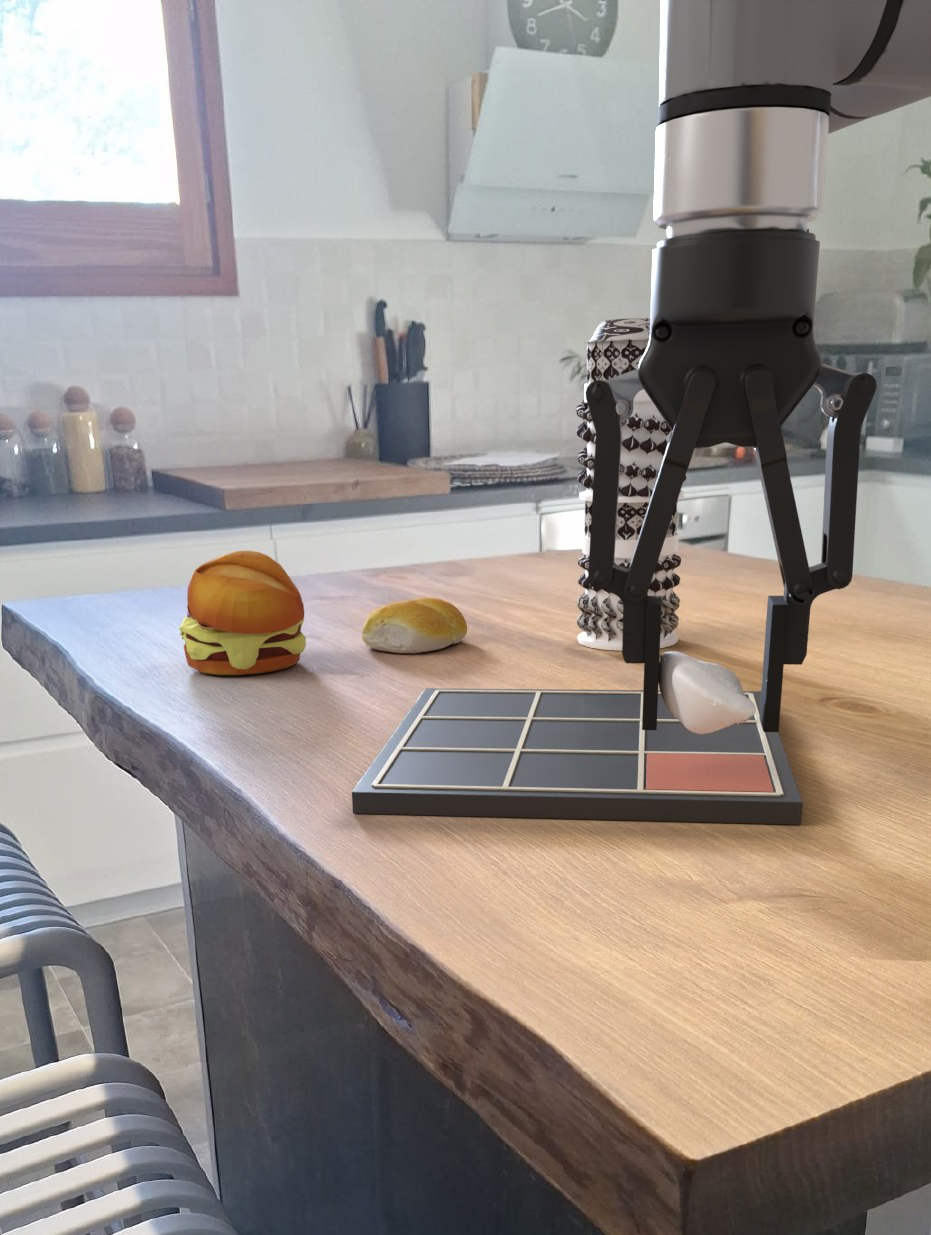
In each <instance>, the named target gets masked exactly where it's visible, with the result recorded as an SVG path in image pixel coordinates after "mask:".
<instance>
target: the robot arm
mask: <svg viewBox="0 0 931 1235" xmlns="http://www.w3.org/2000/svg"><path fill="white" fill-rule="evenodd" d="M659 11H660V13H659V15H660V16H659V19H660V21H659V72H658V74H659V77H658V78H659V80H658V82H659V83H658V86H659V87H658V108H657V109H658V111H657V127H656V128H655V154H654V157H655V158H654V184H653V185H654V186H653V191H654V192H653V213H652V214H653V215H652V216H653V218H652V221H653V223H654V224H655V225H656V226H657V227H658V228H659V229H662V230H665V231H666V232H665V238H664V239H661V240H658V242H657V244H656V247H655V248H653V249H652V252H651V279H650V280H651V284H650V310H649V311H650V312H649V315H650V316H649V318H650V338H649V343H648V346H647V348H646V351H645V353H644V354H643V356H642V358H641V360H640V362H639V366H638V369H635V370H633V371H630V372H627V373H624V374H622V375H619V376H616V377H613V378H611V379H608V380H596V381H593V382H592V383H590V384H589V386H588V387H587V389H586V400H587V403H588V407H589V410H590V414H591V417H592V420H593V424H594V427H595V431H596V444H595V462H594V480H593V498H592V516H591V535H590V553H589V571H588V580H589V583H590V585H591V586H592V587H594V588H595V589H599V590H600V589H602V590H605V591H608V592H610V593H613V594H615V595H617V596H618V597H619V598H620V599H621V601H622V603H623V638H622V651H621V655H622V657H623V660H624V662H625V664H644V666H643V687H642V688H643V689H642V690H643V715H642V730H657V707H658V690H659V683H658V682H659V663H660V658H661V656H660V655H661V654H660V653H661V648H660V632H661V607H662V601H661V596H648V591H649V587H650V584H651V581H652V578H653V575H654V572H655V569H656V566H657V562H658V559H659V556H660V553H661V550H662V547H663V544H664V541H665V537H666V534H667V531H668V528H669V525H670V522H671V519H672V516H673V513H674V509H675V506H676V503H677V500H678V501H679V499H678V497H679V494H680V491H681V490H682V489H683V488H682V487H683V484H684V482H685V481H684V478H685V475H686V476H687V472H688V469H689V467H690V464H691V460H692V458H693V455H694V452H695V449H696V448H700V449H701V448H711V447H714V446H718V445H721V444H730V445H733V446H737V447H741V448H747V447H748V448H749V447H750V448H751V447H752V449H753V452H754V453H753V454H754V458H755V461H756V465H757V469H758V473H759V478H760V483H761V488H762V492H763V496H764V497H763V498H764V502H765V506H766V510H767V515H768V519H769V524H770V529H771V530H770V531H771V534H772V538H773V543H774V547H775V553H776V558H777V562H778V566H779V570H780V575H781V580H782V585H783V595H767V606H766V621H765V631H764V632H765V633H764V645H763V646H764V648H763V649H764V650H763V662H762V664H763V665H762V675H761V676H762V677H761V690H760V691H761V703H760V717H759V719H760V722H761V725H762V729H763V732H779V731H780V717H781V706H782V693H783V682H784V681H783V679H784V667H785V666H784V665H789V666H790V665H791V666H792V665H795V666H797V665H801V666H802V665H803V663H804V661H805V659H806V657H807V654H808V643H809V642H808V641H809V630H810V618H811V608H812V604H813V602H814V601H815V599H816V598H817V597H819V596H821V595H822V594H826V593H828V592H832V591H835V590H842V589H845V588H847V587H848V586H849V585H850V583H851V582H852V579H853V572H854V571H853V570H854V556H855V536H856V519H857V500H858V484H859V469H860V468H859V467H860V466H859V465H860V451H861V450H860V447H861V431H862V425H863V423H864V420H865V418H866V416H867V413H868V411H869V408H870V406H871V404H872V402H873V399H874V396H875V394H876V392H877V386H878V385H877V379H876V378H875V377H874V375H872V374H870V373H866V372H851V371H848V370H844V369H841V368H838V367H835V366H832V365H829V364H825V363H823V358H822V354H821V352H820V350H819V348H818V346H817V344H816V340H815V334H814V332H815V331H814V324H815V311H816V309H815V308H816V299H817V298H816V297H817V286H818V272H819V262H820V261H819V260H820V247H821V241H819V240H818V239H816V238H817V235H816V234H815V233H813V232H810V228H808V225H809V223H812V222H813V221H815V220H816V219H818V218H819V216H821V215H822V214H823V211H824V198H825V182H826V169H827V157H828V156H827V154H828V142H829V134H832V133H835V132H838V131H840V130H842V129H845V128H847V127H850V126H853V125H855V124H858V123H860V122H863V121H865V120H868V119H871V118H874V117H877V116H881V115H884V114H888V113H889V112H892V111H895V110H898V109H900V108H903V107H905V106H908V105H912V104H914V103H917V102H919V101H922V100H924V99H928V98H930V97H931V0H660V10H659ZM813 387H816V388H817V389H818V391H819V394H820V403H819V408H820V410H821V412H822V413H823V414H824V415H826V416H828V417H829V422H828V425H827V434H826V435H827V436H826V450H825V472H824V490H823V491H824V493H823V512H822V533H821V534H822V535H821V554H820V556H821V557H820V563H817V564H815V565H813V566H810V565H809V560H808V556H807V551H806V546H805V541H804V536H803V531H802V527H801V523H800V522H801V521H800V518H799V517H800V516H799V513H798V512H799V511H798V508H797V503H796V502H797V501H796V499H795V494H794V488H793V483H792V479H791V474H790V470H789V469H790V468H789V465H788V456H787V450H786V445H785V440H784V435H783V431H782V427H783V425H784V424H785V423H786V422H787V421H788V419H789V418H790V416H791V415H792V414H793V412H794V411H795V410H796V409H797V407H798V406H799V405H800V404H801V402H802V401H803V399H804V398H805V397H806V396H807V394H808V393H809V392H810V390H811V389H812V388H813ZM643 389H644V390H645V392H646V393H647V395H648V396H649V398H650V399H651V401H652V402H653V404H654V405H655V407H656V408H657V410H658V411H659V413H660V414H661V416H662V417H663V419H664V420H665V422H666V423H667V425H668V426H669V428H670V429H671V434H670V438H669V441H668V444H667V447H666V450H665V454H664V457H663V461H662V464H661V467H660V470H659V474H658V477H657V480H656V483H655V487H654V490H653V493H652V496H651V499H650V503H649V506H648V509H647V512H646V515H645V519H644V522H643V525H642V528H641V531H640V535H639V538H638V541H637V544H636V547H635V551H634V554H633V557H632V560H631V563H630V567H629V569H627V568H624V567H622V566H619V565H616V564H614V556H615V540H616V524H617V509H618V493H619V477H620V461H621V445H622V429H621V422H623V421H625V420H627V419H628V418H629V417H630V416H631V414H632V412H633V401H634V397H635V396H636V394H637V393H638V392H639V391H641V390H643ZM683 481H684V482H683ZM677 504H678V503H677ZM766 680H767V681H766ZM779 733H780V732H779Z"/></svg>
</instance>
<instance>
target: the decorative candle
mask: <svg viewBox="0 0 931 1235" xmlns="http://www.w3.org/2000/svg"><path fill="white" fill-rule="evenodd" d="M649 338H650V317H634V318H633V317H631V318H615V319H614V318H613V319H606V320H604V321H602V322H601V323H599V324H598V326H597V327H596V329H595V331H594V333H593V335H592V337H591V338H590V339H589V340H587V341H585V342H584V344H586V383H584V384H583V385H584V386H583V391H584V392H583V399H582V401H581V402H580V403H578V404H577V405H576V407H575V414H576V416H577V417H578V418H581V419H582V420H583V422H582V423H580V424H578V425H577V427H576V430H575V434H576V436H577V437H579V438H581V440H582V441H583V442H584V441H585V442H586V446H584V447H583V449H581V450H579V452H578V453H577V462H578V463H579V464H580V465H582V466H583V467H584V468H583V469H582V470H580V471H579V472H578V476H577V479H576V480H577V482H578V483H579V484H581V486H583V487H584V488H586V489H585V490H583V491H581V492H580V491H579V496H578V497H579V499H580V500H581V501H584V529H583V530H584V533H583V534H582V535H581V552H582V553H583V555H581V556H580V557H579V558H578V560H577V565H578V566H579V567H580V568H582V569H583V570H584V571H585V572H584V573H582V574H581V575H580V576H579V578H578V579H577V584H578V585H579V586H580V587H582V588H583V589H584V591H583V593H582V594H581V595H579V597H578V598H577V600H576V606H577V608H578V610H579V611H581V613H580V614H579V615H578V617H577V619H576V625H577V626H578V628H579V629H580V630H581V631H582V632H580V633H578V635H577V642H578V643H579V645H582V646H584V647H587V648H591V649H598V650H604V651H619V652H622V638H623V603H622V601H621V599H620V598H619V597H618V596H617V595H615V594H613V593H610V592H608V591H605V590H602V589H600V590H599V589H595V588H594V587H592V586H591V585H590V583H589V580H588V571H589V553H590V535H591V516H592V498H593V480H594V462H595V444H596V431H595V427H594V424H593V420H592V417H591V414H590V410H589V407H588V403H587V400H586V389H587V387H588V386H589V384H590V383H592V382H593V381H596V380H608V379H611V378H613V377H616V376H619V375H622V374H624V373H627V372H630V371H633V370H635V369H638V366H639V362H640V360H641V358H642V356H643V354H644V353H645V351H646V348H647V346H648V343H649ZM621 429H622V445H621V461H620V477H619V493H618V509H617V524H616V540H615V556H614V564H616V565H619V566H622V567H624V568H627V569H629V567H630V563H631V560H632V557H633V554H634V551H635V547H636V544H637V541H638V538H639V535H640V531H641V528H642V525H643V522H644V519H645V515H646V512H647V509H648V506H649V503H650V499H651V496H652V493H653V490H654V487H655V483H656V480H657V477H658V474H659V470H660V467H661V464H662V461H663V457H664V454H665V450H666V447H667V444H668V441H669V438H670V434H671V429H670V428H669V426H668V425H667V423H666V422H665V420H664V419H663V417H662V416H661V414H660V413H659V411H658V410H657V408H656V407H655V405H654V404H653V402H652V401H651V399H650V398H649V396H648V395H647V393H646V392H645V390H644V389H643V390H641V391H639V392H638V393H637V394H636V396H635V397H634V401H633V412H632V414H631V416H630V417H629V418H628V419H627V420H625V421H623V422H621ZM686 480H687V474H686V475H685V478H684V481H683V483H684V482H686ZM682 498H683V499H684V498H685V492H684V491H683V490H682V489H681V491H680V494H679V497H678V500H677V503H676V506H675V509H674V513H673V516H672V519H671V522H670V525H669V528H668V531H667V534H666V537H665V541H664V544H663V547H662V550H661V553H660V556H659V559H658V562H657V566H656V569H655V572H654V575H653V578H652V581H651V584H650V587H649V591H648V596H661V601H662V607H661V632H660V649H663V648H664V649H665V648H669V647H672V646H674V645H676V644H677V643H678V642H679V636H678V635H677V633H675V632H674V630H676V629H677V628H678V627H679V621H680V618H679V616H678V615H677V613H675V612H676V611H677V610H678V609H679V608H680V602H681V599H680V597H679V596H678V595H677V594H676V593H675V591H674V588H676V587H677V586H678V585H680V583H681V576H680V575H678V574H676V573H675V571H674V570H675V569H677V568H678V567H681V563H682V557H681V556H679V555H678V554H677V553H678V552H679V543H680V542H679V540H680V534H679V533H678V532H677V531H678V530H677V523H678V515H679V514H678V513H679V512H678V503H679V500H680V499H682Z"/></svg>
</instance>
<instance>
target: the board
mask: <svg viewBox="0 0 931 1235" xmlns="http://www.w3.org/2000/svg"><path fill="white" fill-rule="evenodd" d="M743 692H744V694H745V695H746V696H747V698H749V699H750V700H751V701H752V702H753V704H754V706H755V708H756V712H755V714H754V715H753V716H751V717H750V718H749V720H748V721H745V723H739V724H737V723H735V724H733V725H730V726H729V727H725V728H723V729H720V730H718V731H714V732H711V733H706V734H697V733H694V732H691V731H690V730H688V729H687V728H686V727H685V726H684V725H683V724H682V723H681V721H679V719H677V718H675V717H674V716H673V714H672V713H670V711H669V710H668V709H667V707H666V705H665V703H664V701H663V698H662V695H661V692H660V689H658V707H657V730H642V715H643V689H557V688H556V689H553V688H552V689H549V688H548V689H547V688H545V689H544V688H543V689H542V688H541V689H539V688H537V689H536V688H534V689H533V688H450V687H449V688H447V687H446V688H443V687H442V688H441V687H440V688H436V687H435V688H433V687H425V689H424V690H423V691H422V693H421V694H420V696H419V697H418V698H417V700H416V701H415V703H414V704H413V705H412V707H411V708H410V710H409V711H408V713H407V714H406V715H405V717H404V718H403V720H402V721H401V722H400V724H399V725H398V726H397V728H396V729H395V731H394V732H393V734H392V735H391V737H390V738H389V739H388V741H387V742H386V743H385V745H384V746H383V748H382V749H381V751H380V752H379V753H378V755H377V756H376V757H375V759H374V760H373V762H372V763H371V765H370V766H369V767H368V769H367V770H366V772H365V773H364V774H363V775H362V777H361V778H360V780H359V781H358V782H357V783H356V784H357V785H355V787H354V789H352V791H351V802H352V803H351V804H352V813H353V814H366V815H367V814H368V815H403V816H405V815H406V816H443V817H481V818H484V817H486V818H487V817H488V818H518V819H519V818H523V819H525V818H527V819H559V820H560V819H561V820H602V821H603V820H604V821H636V822H637V821H638V822H639V821H640V822H678V823H679V822H680V823H716V824H717V823H718V824H719V823H721V824H757V825H758V824H759V825H795V826H796V825H798V826H800V825H801V824H802V817H803V805H804V803H803V800H802V796H801V794H800V791H799V788H798V784H797V782H796V778H795V776H794V773H793V770H792V767H791V765H790V762H789V759H788V756H787V755H788V754H787V753H786V750H785V747H784V744H783V741H782V738H781V735H780V732H763V729H762V725H761V722H760V719H759V717H760V703H761V690H760V691H759V690H758V691H757V690H755V691H753V690H752V691H751V690H743Z"/></svg>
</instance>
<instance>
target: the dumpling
mask: <svg viewBox="0 0 931 1235" xmlns="http://www.w3.org/2000/svg"><path fill="white" fill-rule="evenodd" d="M766 681H767V680H766ZM658 689H659V690H660V692H661V695H662V698H663V701H664V703H665V705H666V707H667V709H668V710H669V711H670V713H672V714H673V716H674V717H675V718H677V719H679V721H681V723H682V724H683V725H684V726H685V727H686V728H687V729H688V730H690V731H691V732H694V733H697V734H706V733H711V732H714V731H718V730H720V729H723V728H725V727H729V726H730V725H733V724H735V723H737V724H739V723H745V721H748V720H749V718H750V717H751V716H753V715H754V714H755V712H756V708H755V706H754V704H753V702H752V701H751V700H750V699H749V698H747V696H746V695H745V694H744V692H743V691H744V689H743V686H742V683H741V680H740V679H739V678H738V677H737V675H736V673H735V672H734V671H733V670H731V669H729V668H728V667H725V666H723V665H721V664H718V663H714V662H708V661H703V660H700V659H698V658H695V657H692V656H690V655H687V654H686V653H683V652H679V651H675V650H674V651H673V650H668V651H666V652H665V651H664V652H663V653H662V654H661V656H660V658H659V682H658Z"/></svg>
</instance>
